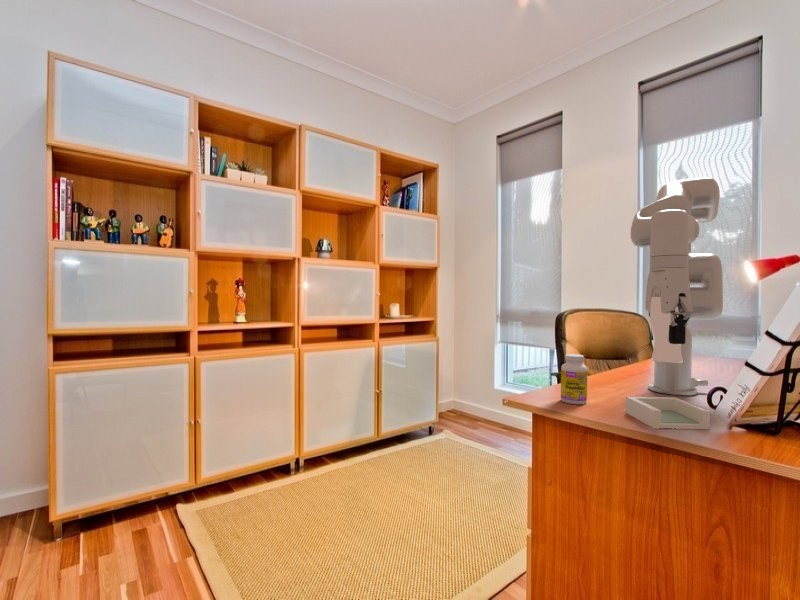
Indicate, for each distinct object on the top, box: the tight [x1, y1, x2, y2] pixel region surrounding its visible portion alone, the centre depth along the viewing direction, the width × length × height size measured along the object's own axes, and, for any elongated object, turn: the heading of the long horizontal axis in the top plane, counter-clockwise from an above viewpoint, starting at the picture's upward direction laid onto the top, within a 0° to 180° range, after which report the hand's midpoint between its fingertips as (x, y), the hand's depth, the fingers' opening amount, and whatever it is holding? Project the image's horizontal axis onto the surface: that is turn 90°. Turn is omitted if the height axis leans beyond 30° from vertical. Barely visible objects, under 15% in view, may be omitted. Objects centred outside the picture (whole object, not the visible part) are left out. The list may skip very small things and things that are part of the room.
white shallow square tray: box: [625, 396, 711, 430], centre depth 97 cm, size 12×12×4 cm
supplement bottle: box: [560, 353, 588, 405], centre depth 113 cm, size 7×7×13 cm
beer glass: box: [649, 297, 683, 363], centre depth 96 cm, size 7×7×15 cm
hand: (667, 341), depth 96 cm, fingers closed on beer glass, 6 cm apart
